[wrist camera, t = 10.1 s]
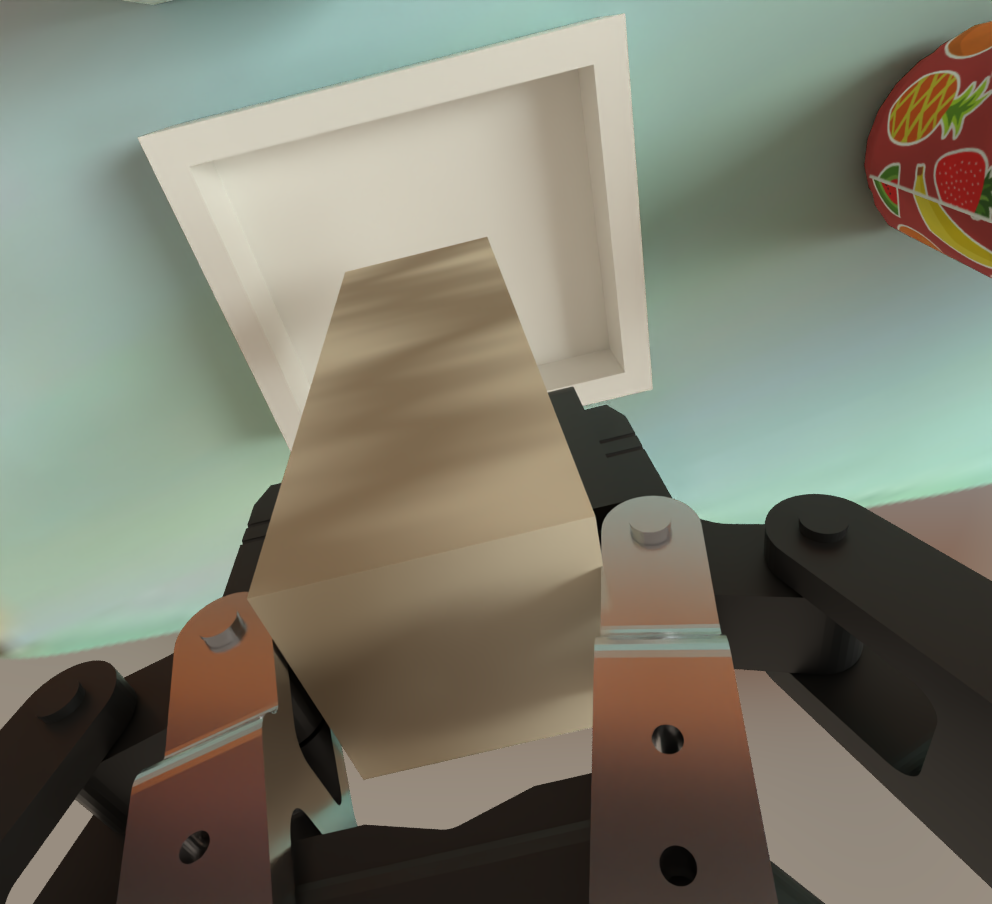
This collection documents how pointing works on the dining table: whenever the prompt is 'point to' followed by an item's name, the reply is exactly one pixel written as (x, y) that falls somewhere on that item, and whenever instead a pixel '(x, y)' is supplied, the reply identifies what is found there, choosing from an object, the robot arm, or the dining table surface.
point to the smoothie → (939, 151)
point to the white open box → (149, 1)
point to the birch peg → (432, 526)
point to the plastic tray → (428, 203)
